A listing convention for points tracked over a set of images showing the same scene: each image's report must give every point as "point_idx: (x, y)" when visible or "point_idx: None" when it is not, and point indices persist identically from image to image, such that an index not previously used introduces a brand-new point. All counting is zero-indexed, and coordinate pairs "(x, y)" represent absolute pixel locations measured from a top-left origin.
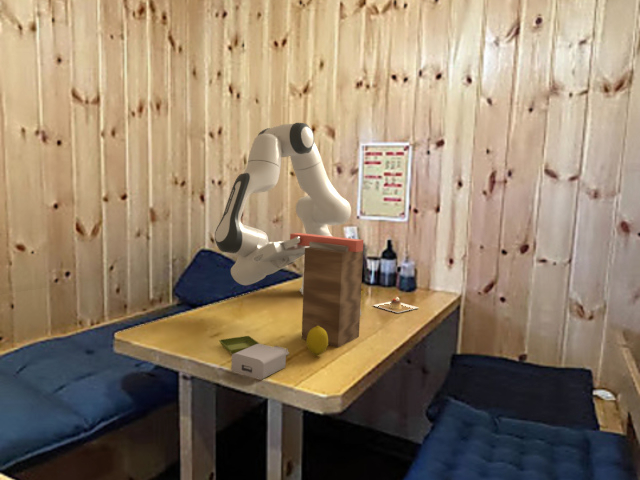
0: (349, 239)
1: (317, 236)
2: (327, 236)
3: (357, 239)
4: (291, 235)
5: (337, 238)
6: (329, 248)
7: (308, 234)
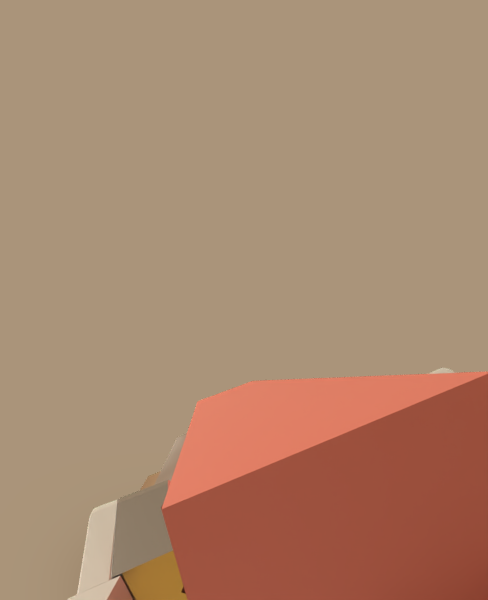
0: (234, 389)
1: (285, 383)
2: (220, 404)
3: (205, 399)
4: (482, 409)
5: (251, 386)
6: None
7: (238, 418)
